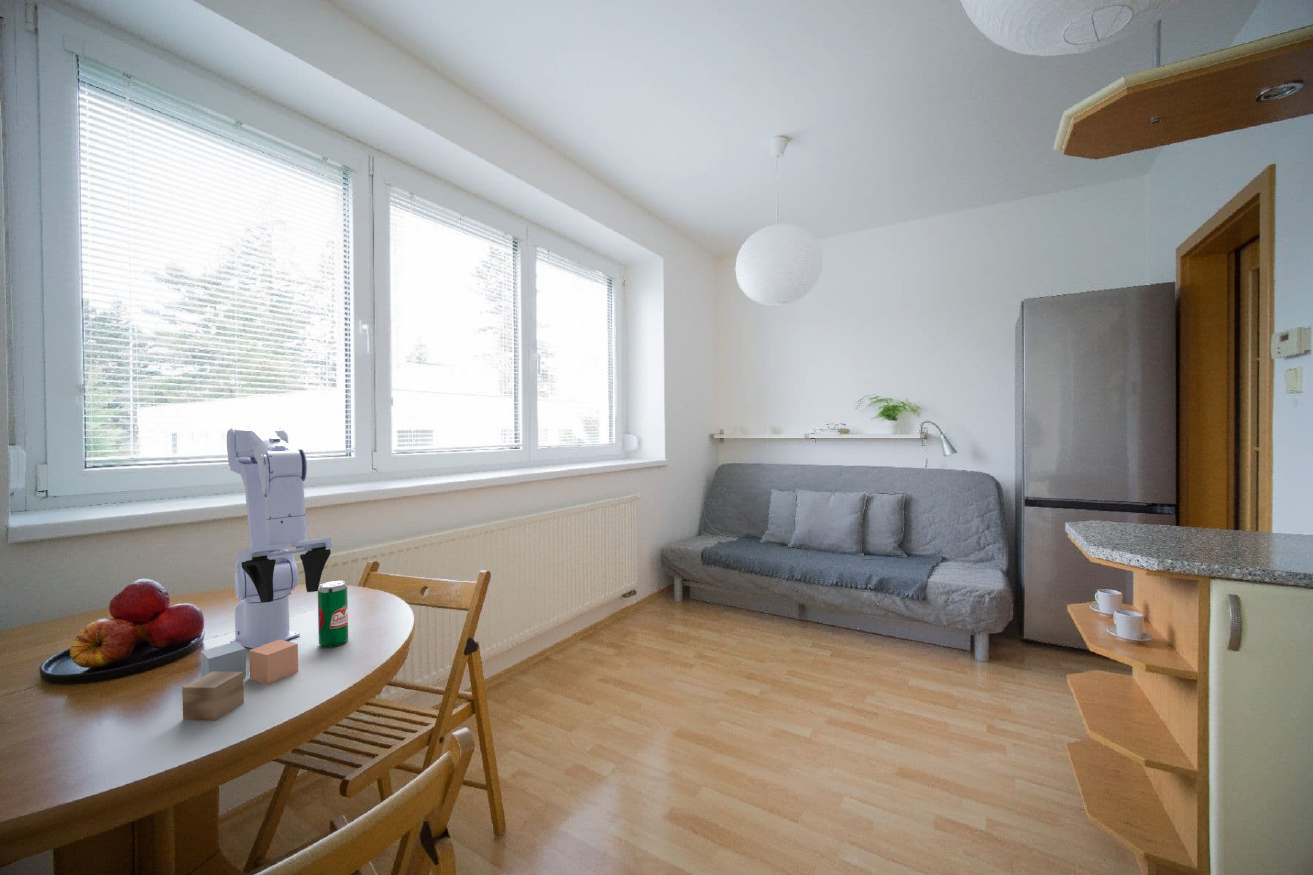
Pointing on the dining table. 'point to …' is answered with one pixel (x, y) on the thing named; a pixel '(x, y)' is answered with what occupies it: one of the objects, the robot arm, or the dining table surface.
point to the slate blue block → (224, 659)
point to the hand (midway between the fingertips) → (290, 596)
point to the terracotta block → (273, 661)
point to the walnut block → (212, 696)
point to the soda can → (332, 614)
